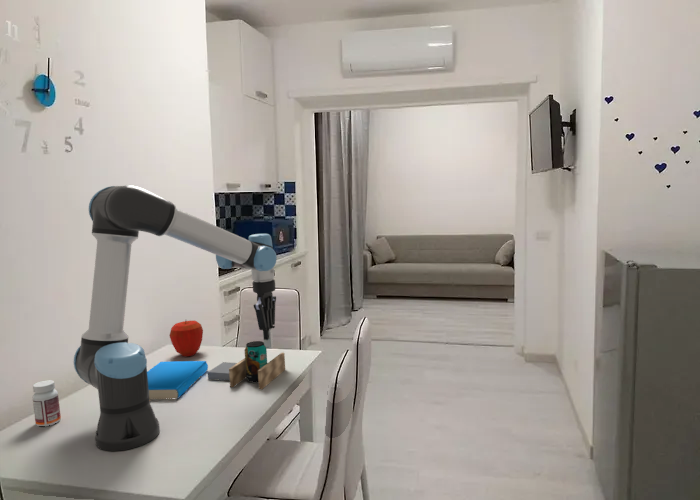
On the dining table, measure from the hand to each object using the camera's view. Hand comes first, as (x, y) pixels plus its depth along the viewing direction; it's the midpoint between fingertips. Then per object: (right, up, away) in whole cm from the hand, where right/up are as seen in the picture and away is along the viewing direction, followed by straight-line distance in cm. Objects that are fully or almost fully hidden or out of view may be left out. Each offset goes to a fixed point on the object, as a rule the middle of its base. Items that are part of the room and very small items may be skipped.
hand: (268, 347), depth 181 cm
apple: (-34, -7, +22) cm, 41 cm away
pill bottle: (-56, -15, -34) cm, 67 cm away
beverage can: (-3, -9, -8) cm, 12 cm away
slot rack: (-2, -9, -7) cm, 11 cm away
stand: (-13, -9, -3) cm, 16 cm away
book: (-31, -11, -9) cm, 34 cm away
